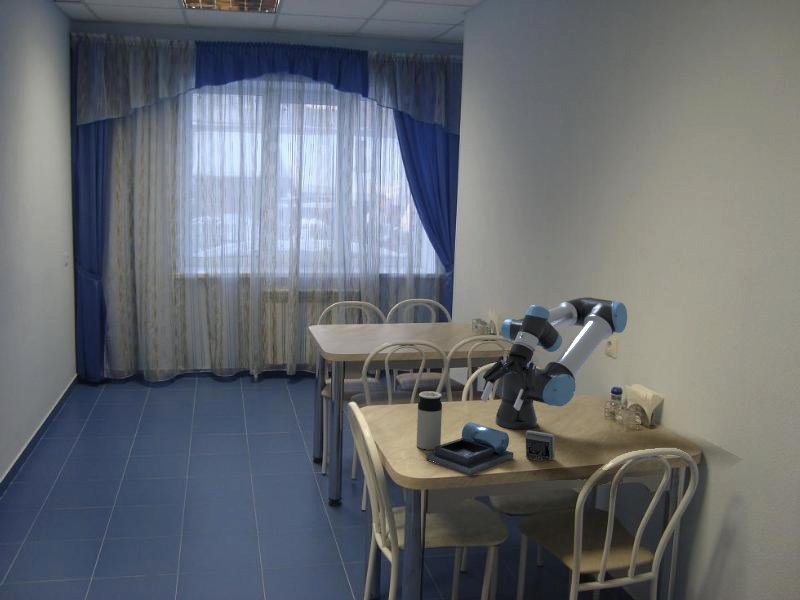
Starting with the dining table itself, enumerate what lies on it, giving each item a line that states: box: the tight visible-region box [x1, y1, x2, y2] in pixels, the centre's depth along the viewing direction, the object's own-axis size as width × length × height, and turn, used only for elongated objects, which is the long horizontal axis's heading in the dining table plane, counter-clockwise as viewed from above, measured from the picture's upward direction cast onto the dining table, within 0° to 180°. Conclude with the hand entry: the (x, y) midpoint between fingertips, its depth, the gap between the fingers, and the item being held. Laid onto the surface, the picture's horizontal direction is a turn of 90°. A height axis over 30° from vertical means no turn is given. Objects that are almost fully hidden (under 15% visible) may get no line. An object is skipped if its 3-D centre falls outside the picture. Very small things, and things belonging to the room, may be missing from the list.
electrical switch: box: [525, 429, 556, 463], centre depth 256 cm, size 9×5×9 cm, turn 65°
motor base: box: [425, 421, 514, 476], centre depth 254 cm, size 22×18×9 cm
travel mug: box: [416, 390, 443, 451], centre depth 265 cm, size 8×8×18 cm
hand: (499, 404), depth 263 cm, fingers open, 13 cm apart
